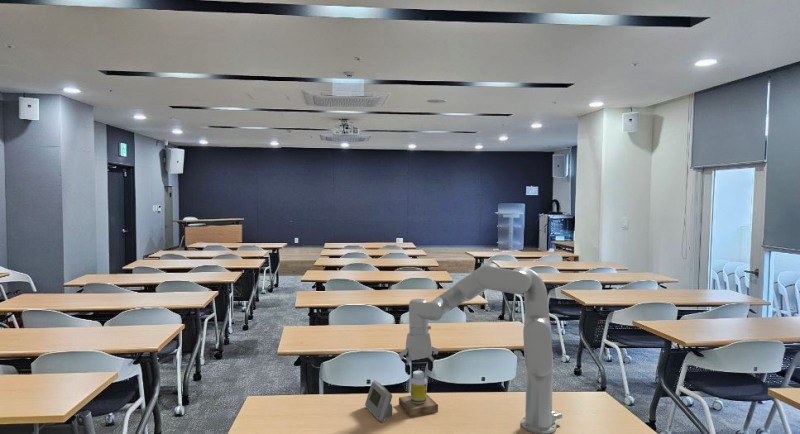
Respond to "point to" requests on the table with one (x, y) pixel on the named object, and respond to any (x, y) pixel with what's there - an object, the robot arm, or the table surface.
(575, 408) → the table surface
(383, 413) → the digital clock
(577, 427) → the table surface
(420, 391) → the pill bottle
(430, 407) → the walnut block
